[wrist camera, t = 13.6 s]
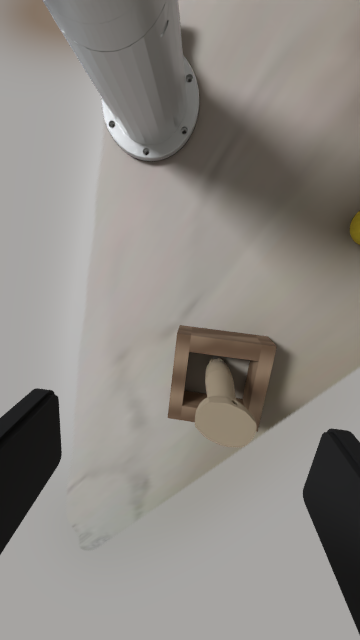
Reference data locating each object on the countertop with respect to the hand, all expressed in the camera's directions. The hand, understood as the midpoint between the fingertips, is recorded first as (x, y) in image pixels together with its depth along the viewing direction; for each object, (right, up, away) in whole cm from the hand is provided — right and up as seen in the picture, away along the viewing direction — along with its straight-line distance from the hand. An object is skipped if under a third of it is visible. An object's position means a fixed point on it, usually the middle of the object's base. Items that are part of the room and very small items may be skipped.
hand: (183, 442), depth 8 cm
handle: (+6, -3, +31) cm, 32 cm away
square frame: (+6, -4, +31) cm, 32 cm away
